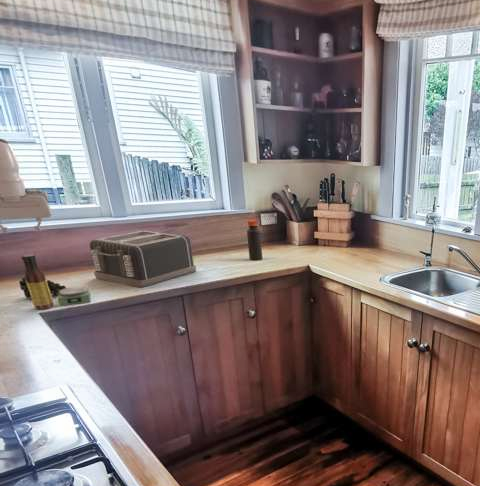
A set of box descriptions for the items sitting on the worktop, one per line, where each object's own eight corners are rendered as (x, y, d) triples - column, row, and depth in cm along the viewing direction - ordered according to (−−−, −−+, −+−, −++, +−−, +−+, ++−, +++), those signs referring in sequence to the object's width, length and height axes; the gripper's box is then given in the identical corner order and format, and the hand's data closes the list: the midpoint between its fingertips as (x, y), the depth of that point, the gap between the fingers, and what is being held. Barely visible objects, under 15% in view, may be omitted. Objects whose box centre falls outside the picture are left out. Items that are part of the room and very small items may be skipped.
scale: (60, 306, 176) (57, 298, 174) (61, 298, 184) (59, 290, 183) (90, 302, 180) (88, 295, 179) (90, 295, 188) (89, 287, 187)
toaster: (85, 280, 206) (75, 241, 199) (151, 263, 235) (145, 228, 228) (133, 290, 195) (124, 249, 187) (196, 271, 224) (191, 235, 216)
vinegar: (264, 258, 252) (261, 220, 243) (259, 261, 246) (255, 222, 237) (253, 257, 253) (249, 219, 245) (247, 260, 247) (243, 221, 239)
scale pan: (58, 296, 175) (58, 294, 175) (60, 290, 183) (59, 288, 182) (87, 293, 179) (86, 291, 179) (87, 287, 187) (87, 285, 186)
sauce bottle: (43, 304, 177) (28, 252, 169) (58, 305, 177) (43, 253, 168) (29, 309, 172) (13, 256, 163) (45, 310, 171) (29, 257, 162)
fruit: (62, 270, 187) (16, 273, 180) (63, 281, 182) (16, 285, 175) (66, 288, 192) (22, 292, 185) (68, 300, 187) (22, 304, 180)
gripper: (47, 188, 163) (57, 228, 169) (-26, 190, 154) (-12, 232, 160) (45, 190, 158) (56, 231, 164) (-31, 192, 149) (-16, 235, 155)
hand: (22, 232), depth 162 cm, fingers open, 8 cm apart
